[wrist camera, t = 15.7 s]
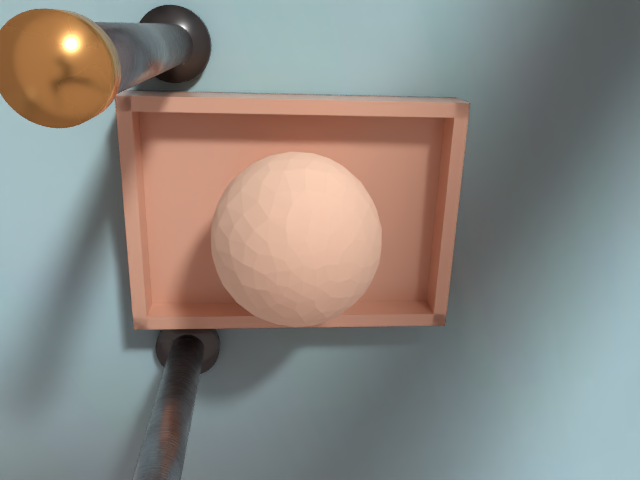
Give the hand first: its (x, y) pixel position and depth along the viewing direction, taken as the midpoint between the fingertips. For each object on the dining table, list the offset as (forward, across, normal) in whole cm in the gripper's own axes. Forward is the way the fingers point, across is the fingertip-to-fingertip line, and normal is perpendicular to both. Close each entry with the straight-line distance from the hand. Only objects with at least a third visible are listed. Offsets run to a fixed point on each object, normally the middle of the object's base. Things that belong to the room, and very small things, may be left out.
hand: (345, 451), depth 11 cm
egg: (+17, 0, 0) cm, 17 cm away
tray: (+17, 0, -1) cm, 17 cm away
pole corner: (+17, -5, +6) cm, 19 cm away
